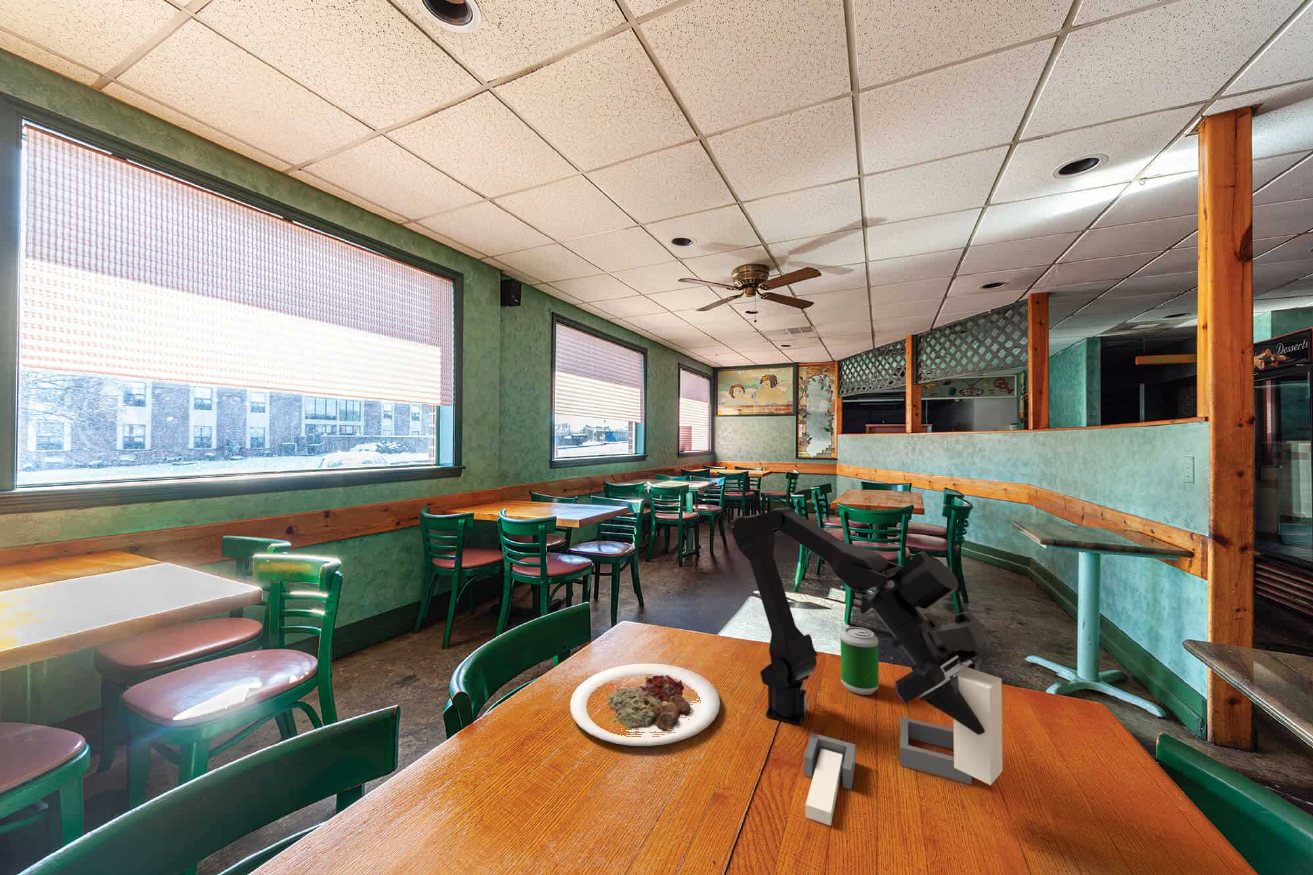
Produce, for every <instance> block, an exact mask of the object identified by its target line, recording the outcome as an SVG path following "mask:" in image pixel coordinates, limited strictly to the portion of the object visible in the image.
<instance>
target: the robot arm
mask: <svg viewBox="0 0 1313 875" xmlns="http://www.w3.org/2000/svg"><path fill="white" fill-rule="evenodd" d="M777 532H781V533H783V534H785V535H786V536H787V537H789V538H791V539H792V540H793V541H794V542H797V543H798V544H799V545H801V546H802V547H803V548H805V549H807V550H808V551H810V553H812V554H814V555H816V556H817V557H819V558H820V559H822V560H823V561H824V562H825V563H827V564H828V566H829V567H830V568H831V570H832V572H833V574H834V575H835V576H836V577H837V579H839V580H840V581H841V582H843V584H844V585H845V586H847V588H849V589H850V590H852V591H853V592H858V593H862V592H867V591H869V590H873V589H875V588H879V589H878V590H877V591H876V592H874V593H873V594H869V593H867V594H864V595H863V596H861V597H860V599H861V604H860V608H859V609H860V610H859V612H860V613H861V614H862V615H863V614H864V615H865V614H867V613H869V612H872V611H873V612H875V614H876V615H877V616H878V618H879V619H880V621H882V623H883V625H884V626H885V627H886V629H887V630H888V631H889V632H890V633H891V635H892V636H893V638H894V640H893V641H892V642H891V644H892V645H893V646H894V648H895V649H898V648H900V647H901V649H903V651H904V652H905V654H906V655H907V656H908V657H909V658H910V660H911V661H912V662H913V664H914V665H913V666H912V667H910V669H911V671H910V672H909V673H906V674H905V675H904V676H902V677H900V678H899V679H897V680H896V681H895V682H894V683H895V684H894V686H895V687H894V689H895V690H894V691H895V692H896V694H897V695H898V697H899V698H900V700H901V701H902V702H903V703H904V704H908V703H909V702H911V701H913V700H915V699H916V698H917V697H918V700H919V701H920V702H922V703H923V701H924V702H926V703H927V704H929V705H931V706H932V707H934V708H935V709H937V710H939V711H941V712H943V713H944V714H945V715H947V716H949V717H950V718H952V719H955V720H956V721H958V722H959V723H961V724H962V725H964V726H966V727H967V728H969V729H970V730H972V731H973V732H975V733H976V734H978V735H980V734H982V733H984V732H985V730H984V728H983V726H982V725H981V723H980V721H979V720H978V718H977V717H976V715H975V714H974V712H973V711H972V709H971V708H970V707H969V705H968V704H967V702H966V701H965V699H964V698H963V696H962V695H961V693H960V692H959V685H958V676H955V677H953V676H954V675H955V674H956V673H958V672H959V671H961V670H962V669H963V668H965V667H968V668H971V669H974V670H977V671H980V665H981V664H982V660H981V658H978V659H977V660H975V661H972V660H971V659H973V658H975V657H978V656H980V655H982V654H983V653H984V652H986V651H987V648H986V647H985V646H984V645H986V644H987V643H988V640H987V639H986V636H985V635H984V632H983V631H984V630H985V629H986V626H985V625H984V623H982V622H980V620H979V618H976V617H975V616H974V615H973V614H972V613H971V612H970V611H965V612H960V613H958V614H956V615H955V616H954V622H950V623H947V624H941V623H940V622H939V621H938V620H937V619H936V618H934V617H930V618H927V617H926V616H925V614H923V613H922V612H921V610H920V609H919V608H921V609H924V610H930V609H931V608H932V607H933V606H935V605H936V604H938V603H939V602H941V601H942V600H944V599H945V598H946V597H948V596H949V595H951V594H953V592H955V591H956V590H958V589H959V585H960V584H959V580H958V579H957V577H956V575H955V574H954V572H953V571H952V570H951V568H949V567H948V566H947V565H944V564H943V563H942V562H940V561H939V560H937V559H935V558H934V557H930V556H929V554H928V553H927V552H926V551H920V552H917V553H915V555H914V556H913V557H911V559H910V560H909V561H908V562H907V563H906V564H904V565H900V564H897V563H894V562H890V561H888V560H887V558H885V556H883V555H882V554H880V553H878V552H875V551H873V550H871V549H868V548H867V547H866V548H865V547H863V546H859V545H857V544H851V543H848V542H845V541H843V540H841V539H840V538H838V537H836V536H834V535H833V534H831V533H830V532H828V531H827V530H825V529H823V528H822V527H821V526H818V525H817V524H815V523H814V522H812V521H810V520H809V519H807V518H805V517H804V516H802V515H801V514H799V513H797V512H796V510H795V509H793V508H792V507H789V506H788V507H787V506H786V507H780V508H779V507H778V508H774V509H773V508H772V509H771V510H770V511H768V512H764V513H759V514H753V515H747V516H739V517H737V518H736V519H735V521H733V524H732V526H731V534H732V536H733V539H734V542H735V544H736V547H737V548H738V550H739V551H740V552H741V553H742V555H744V556H745V557H746V559H747V560H748V561H749V564H750V566H751V569H752V572H753V576H754V580H755V583H756V586H757V589H758V593H759V596H760V599H761V603H762V606H763V609H764V612H765V616H766V619H767V624H768V626H769V629H770V634H771V636H770V641H769V648H768V652H769V653H768V654H769V658H770V662H771V663H769V664H768V665H767V666H765V667H764V668H763V669H762V670H760V673H759V674H760V678H761V683H763V685H766V686H767V696H768V697H767V700H768V701H767V702H768V703H767V704H768V705H767V710H766V711H765V716H766V717H768V718H771V719H775V720H779V721H782V722H786V723H790V724H792V725H793V724H794V725H801V723H802V720H803V718H804V717H806V714H807V711H808V710H807V704H808V702H807V691H806V689H804V681H805V680H806V681H807V680H809V679H810V675H811V674H813V672H814V671H815V670H816V667H817V656H819V654H818V653H817V651H816V650H815V647H814V645H813V638H812V635H811V634H808V633H807V634H803V633H802V631H800V629H799V628H798V627H797V625H796V623H795V619H794V617H793V616H794V615H793V613H792V610H791V607H790V604H789V600H788V597H787V595H786V594H787V593H786V592H785V591H786V590H785V588H784V585H783V582H782V579H781V576H780V572H779V570H778V565H777V564H776V560H775V557H774V550H775V545H776V536H775V533H777ZM892 583H894V584H895V585H894V586H893V587H890V588H889V587H884V586H887V585H890V584H892ZM918 607H919V608H918ZM983 644H984V645H983Z"/></svg>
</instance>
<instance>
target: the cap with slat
mask: <svg viewBox="0 0 1313 875" xmlns="http://www.w3.org/2000/svg"><path fill="white" fill-rule="evenodd" d="M805 749H806V750H805V752H804V755H803V769H804V770H803V775H804V776H805V777H808V778H812V780H811V783H810V787H809V790H808V794H807V797H806V801H805V806H804V807H805V818H807V819H810V820H812V821H815V822H818V823H821V824H824V825H827V826H830V827H831V826H832V821H833V816H834V812H835V807H836V802H837V796H838V791H839V786H840V782H841V776H842V788H844V789H848V790H850V791H852V787H853V782H854V781H853V780H854V775H855V770H856V769H855V767H856V744H854V743H851V742H847V741H843V740H839V739H838V738H837V739H836V738H832V737H829V736H824V735H821V734H817V733H814V732H811V734H810V736H809V740H808V743H807V745H806V748H805Z"/></svg>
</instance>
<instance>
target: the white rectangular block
mask: <svg viewBox="0 0 1313 875" xmlns="http://www.w3.org/2000/svg"><path fill="white" fill-rule="evenodd" d="M955 676H958V685H959V692H960V693H961V695H962V696H963V698H964V699H965V701H966V702H967V704H968V705H969V707H970V708H971V709H972V711H973V712H974V714H975V715H976V717H977V718H978V720H979V721H980V723H981V725H982V726H983V728H984V730H985V732H984V733H982V734H980V735H978V734H976V733H975V732H973V731H972V730H970V729H969V728H967V727H966V726H964V725H962V724H961V723H959V722H958V721H956V720H955V719H953V718H952V719H953V729H954V750H953V757H954V768H956V769H958V770H960V771H962V772H964V773H966V774H968V775H971V776H972V777H973V778H975V779H977V780H979V781H981V782H983V783H985V784H987V785H989V786H991V785H992V784H993V783H994V782H995V781H996V779H997V778H998V777H999V776H1000V775H1001V774H1002V772H1003V717H1002V716H1003V713H1002V712H1003V709H1002V708H1003V705H1002V704H1003V703H1002V702H1003V700H1002V698H1003V697H1002V696H1003V695H1002V678H1001V677H998V676H995V675H992V674H989V673H986V672H982V671H980V670H979V671H977V670H974V669H971V668H968V667H965V668H963V669H962V670H961V671H959V672H958V673H956V674H955V675H954V676H953V677H955Z"/></svg>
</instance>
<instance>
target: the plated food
mask: <svg viewBox="0 0 1313 875" xmlns="http://www.w3.org/2000/svg"><path fill="white" fill-rule="evenodd" d="M642 674H653V675H656V676H652V678H650V677H649V678H648V677H646V680H645V681H646V682H645V683H644V685H642V686H638V687H631V688H627V687H620V688H618V689H617V690H615V692H614V694H613V695H609V696H610V697H609V699H608V700H609V701H608V703H607V704H608V705H610V706H611V707H610V709H611V710H613V711H616V714H615V715H616V716H613V717H615V718H616V719H617V718H618V720H614V721H613V723H614V722H616V721H619V722H620V723H621V724H622V725H624V727H627V728H629V729H632V730H626V731H629V732H635V731H639V732H645V733H637V734H642V735H626V736H630V737H626V736H624V735H622V736H621V735H617V734H613V733H610V732H608V731H606V730H604V729H602V728H600V727H599V726H597V725H596V724H595V723H594V722H593V721H592V720H591V719H590V717H589V715H588V713H587V707H586V706H587V701H588V698H589V696H591V695H590V694H591V693H592V692H594V690H596V689H598V688H597V687H600V686H602V685H603V684H605V683H608V682H609V681H612V680H613V679H617V678H619V677H624V676H626V675H642ZM657 675H659V676H657ZM660 675H662V676H660ZM674 679H677V680H678V682H677V681H675V680H674ZM682 683H685V684H686V685H688V686H689V687H691V689H693V690H695V692H697V694H698V696H699V697H700V700H701V701H699V702H697V701H692V702H697V703H689V702H687V701H686V700H685V698H684V697H682V694H683V691H682V690H684V685H683V684H682ZM619 690H622V691H619ZM696 700H699V699H696ZM663 701H667V702H668V703H667V704H665V705H662V702H663ZM569 702H570V706H569V707H570V708H569V709H570V714H571V716H572V718H573V720H574V721H575V723H576V724H577V725H578V726H579V727H580V729H582V730H584V731H585V732H587V733H588V734H589V735H591V736H593V737H596V738H597V739H600V740H603V741H607V742H608V743H609V742H610V743H612V744H613V743H614V744H616V745H617V744H618V745H625V746H632V747H633V746H635V747H636V746H639V747H651V746H659V745H660V746H661V745H667V744H672V743H676V742H680V741H682V740H685V739H687V738H691V737H693V736H695V735H697V734H699V733H700V732H702V731H703V730H705V729H706V728H708V727H709V726H710V724H711V723H713V721H715V719H716V717H717V715H718V713H720V712H719V710H720V706H721V702H720V696H719V693H718V691H717V690H716V688H715V686H714V685H713V684H712V683H711V682H710V681H709V680H708V679H706V678H704V677H703V676H702V675H700V674H698V673H696V672H693V671H692V670H689V669H686V668H682V667H679V666H676V665H675V666H674V665H670V664H662V663H661V664H660V663H634V664H633V663H632V664H625V665H620V666H616V667H612V668H609V669H605V670H603V671H600V672H598V673H596V674H593V675H592V676H590V677H589V678H587V679H586V680H584V681H583V682H582V683H581V684H579V685H578V686H577V688H576V689H575V691H574V692H573V694H572V696H571V699H570V701H569ZM700 702H701V703H700ZM690 704H693V705H690ZM612 707H613V708H612ZM690 711H694V712H690ZM691 713H693V714H691ZM680 715H685V716H680ZM691 715H692V716H691ZM613 717H610V718H609V719H611V718H613ZM679 717H686V718H679ZM607 719H608V718H607ZM678 719H679V720H678ZM688 719H689V720H688ZM678 723H679V724H678ZM652 725H656V726H652ZM646 727H647V728H646ZM648 727H650V728H648ZM677 727H679V728H677ZM621 729H622V728H621ZM635 729H639V730H635ZM661 729H662V730H661ZM668 729H672V730H668ZM621 731H622V730H621ZM655 731H656V732H662V731H671V732H676V733H649V732H655ZM627 734H628V733H627ZM630 734H635V733H630ZM653 734H660V735H653ZM661 734H665V735H661ZM631 736H641V737H631ZM652 736H660V737H652Z"/></svg>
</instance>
